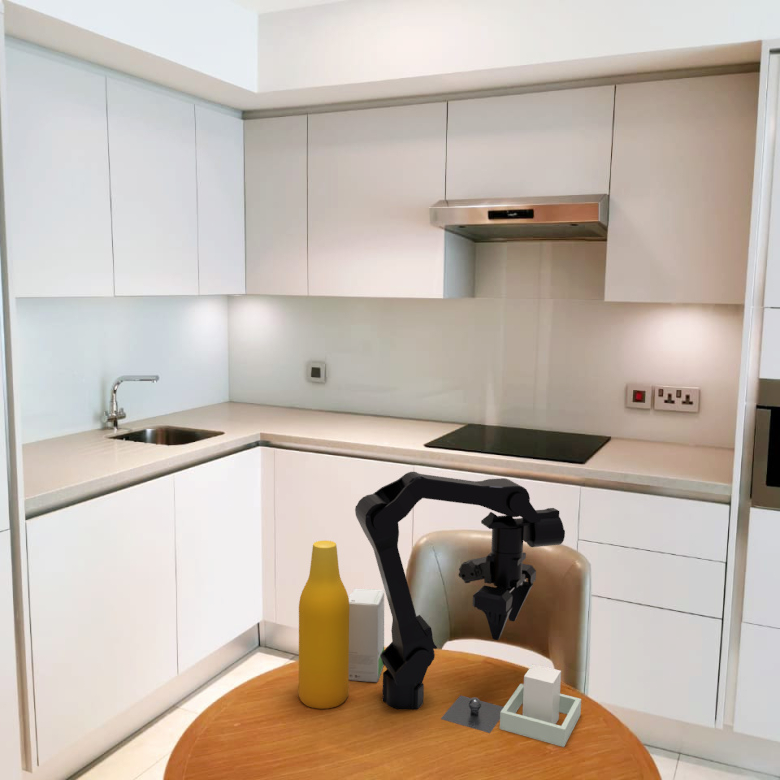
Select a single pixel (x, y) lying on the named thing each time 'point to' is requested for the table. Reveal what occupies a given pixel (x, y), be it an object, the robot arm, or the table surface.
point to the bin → (538, 727)
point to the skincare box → (366, 634)
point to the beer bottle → (324, 632)
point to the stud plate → (473, 713)
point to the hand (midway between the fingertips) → (504, 629)
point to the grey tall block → (542, 693)
